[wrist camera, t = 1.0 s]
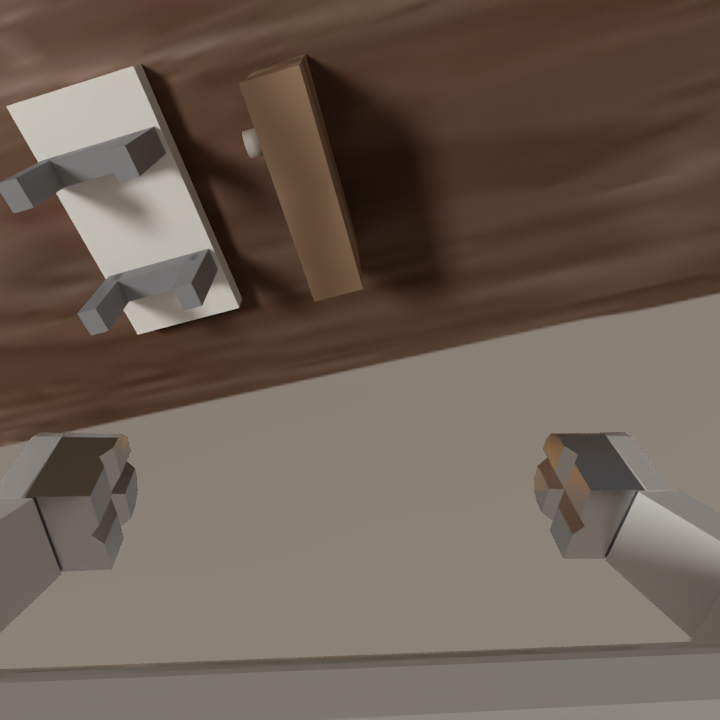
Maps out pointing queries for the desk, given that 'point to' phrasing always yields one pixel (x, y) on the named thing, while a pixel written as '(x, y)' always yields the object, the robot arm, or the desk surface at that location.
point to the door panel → (303, 173)
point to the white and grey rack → (124, 201)
